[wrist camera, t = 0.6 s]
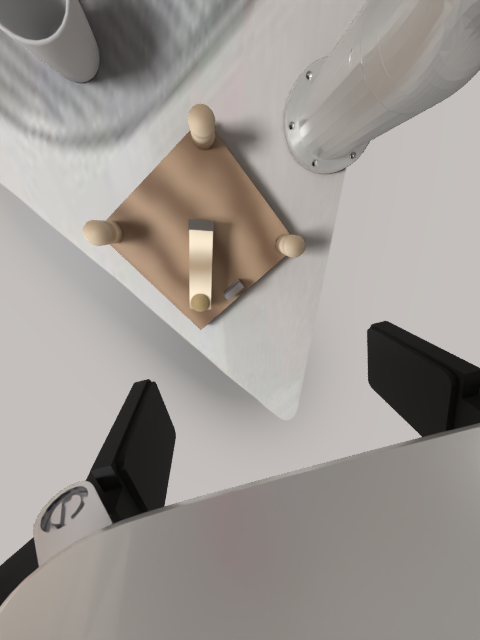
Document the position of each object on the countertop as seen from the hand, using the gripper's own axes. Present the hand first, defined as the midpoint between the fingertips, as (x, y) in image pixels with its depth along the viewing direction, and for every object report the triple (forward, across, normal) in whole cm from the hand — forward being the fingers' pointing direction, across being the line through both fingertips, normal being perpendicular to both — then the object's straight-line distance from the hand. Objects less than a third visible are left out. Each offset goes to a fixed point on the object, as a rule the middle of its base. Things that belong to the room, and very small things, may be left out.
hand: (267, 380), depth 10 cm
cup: (+31, +11, -30) cm, 44 cm away
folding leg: (+28, +3, -2) cm, 28 cm away
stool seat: (+30, +2, -6) cm, 31 cm away
